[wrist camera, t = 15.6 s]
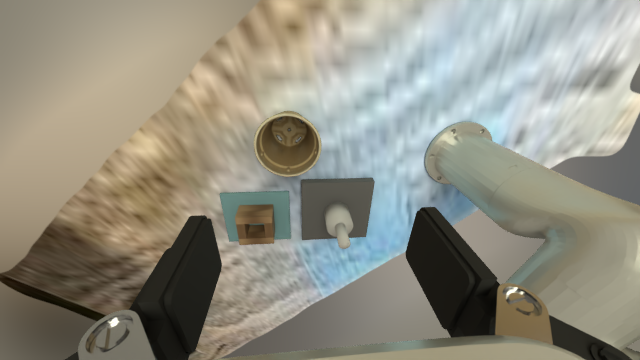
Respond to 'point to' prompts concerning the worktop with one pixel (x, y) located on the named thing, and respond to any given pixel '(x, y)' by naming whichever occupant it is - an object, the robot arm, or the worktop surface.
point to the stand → (336, 208)
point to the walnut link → (255, 216)
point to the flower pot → (287, 144)
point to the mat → (257, 198)
